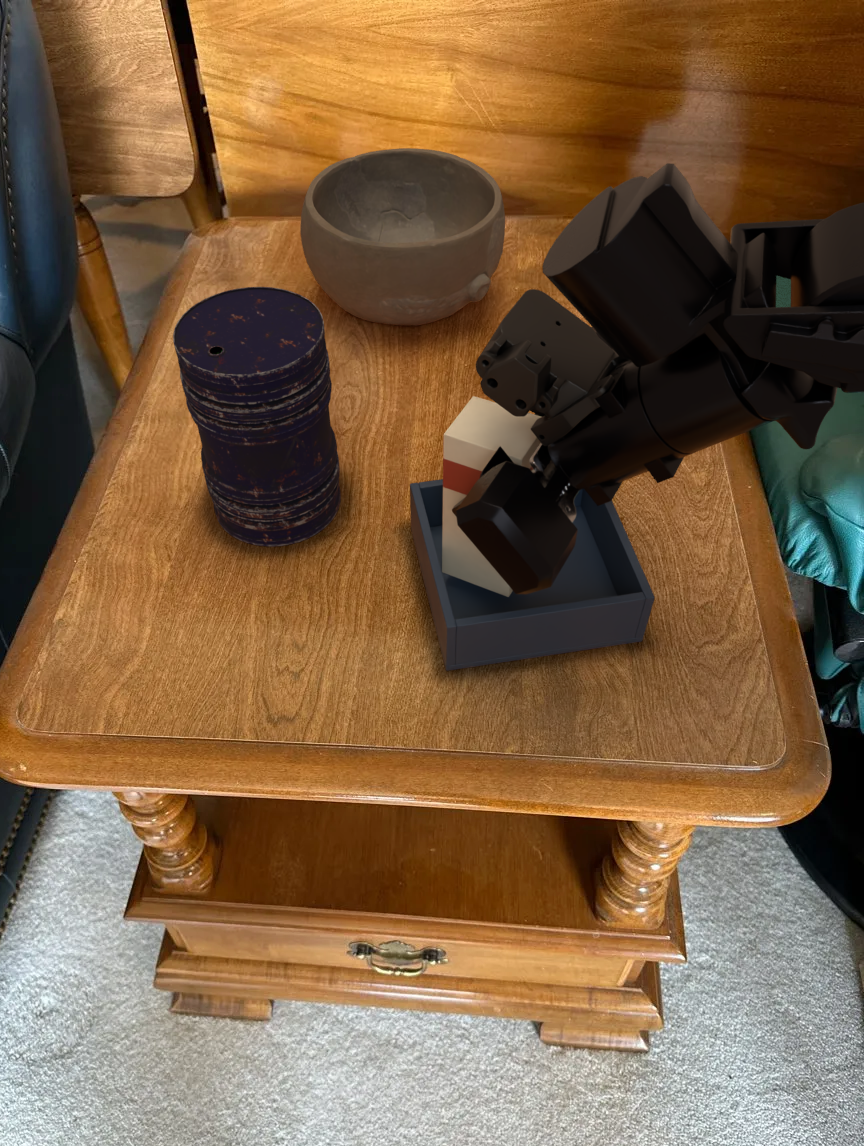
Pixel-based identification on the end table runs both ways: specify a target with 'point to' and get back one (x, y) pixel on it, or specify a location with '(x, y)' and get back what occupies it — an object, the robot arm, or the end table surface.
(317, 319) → the dark blue cylinder
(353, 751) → the end table surface
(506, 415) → the plate
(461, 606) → the box
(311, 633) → the end table surface
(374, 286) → the bowl
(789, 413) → the robot arm
